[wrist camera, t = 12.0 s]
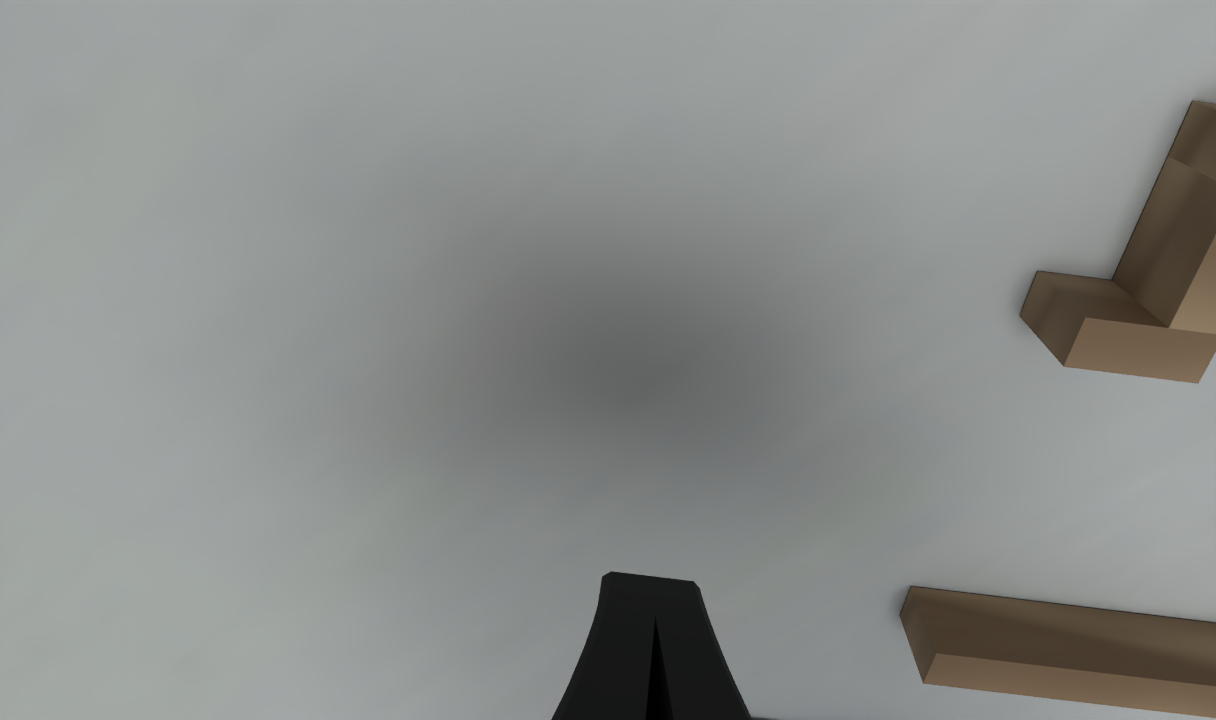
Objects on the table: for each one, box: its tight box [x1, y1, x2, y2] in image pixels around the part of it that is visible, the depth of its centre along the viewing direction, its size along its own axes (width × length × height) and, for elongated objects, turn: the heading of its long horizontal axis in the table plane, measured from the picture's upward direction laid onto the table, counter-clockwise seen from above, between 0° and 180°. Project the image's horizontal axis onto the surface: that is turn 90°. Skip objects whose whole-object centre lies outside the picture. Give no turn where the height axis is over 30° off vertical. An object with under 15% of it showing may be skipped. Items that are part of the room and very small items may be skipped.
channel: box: [900, 101, 1216, 718], centre depth 21 cm, size 16×10×2 cm, turn 173°
